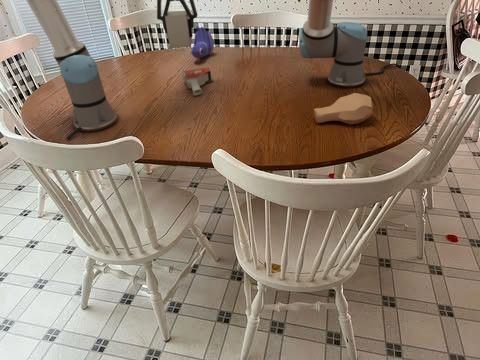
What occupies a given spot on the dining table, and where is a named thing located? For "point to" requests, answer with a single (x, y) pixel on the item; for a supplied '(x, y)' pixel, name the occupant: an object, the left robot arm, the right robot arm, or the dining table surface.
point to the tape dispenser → (196, 79)
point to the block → (178, 29)
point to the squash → (346, 109)
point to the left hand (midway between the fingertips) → (180, 37)
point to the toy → (202, 43)
